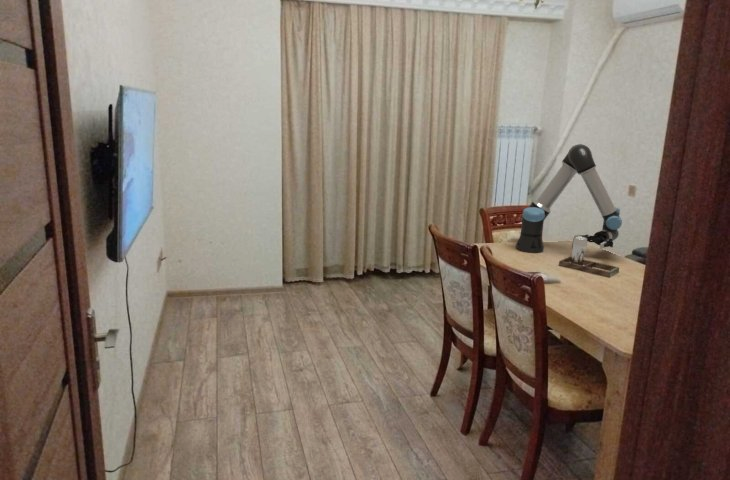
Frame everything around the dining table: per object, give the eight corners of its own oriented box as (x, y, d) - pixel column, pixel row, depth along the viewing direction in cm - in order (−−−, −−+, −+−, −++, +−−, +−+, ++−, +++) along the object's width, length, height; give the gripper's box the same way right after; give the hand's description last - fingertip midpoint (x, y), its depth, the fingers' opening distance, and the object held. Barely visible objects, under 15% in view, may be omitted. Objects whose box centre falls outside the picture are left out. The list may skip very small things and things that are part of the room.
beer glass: (568, 266, 261) (572, 238, 257) (570, 263, 267) (573, 235, 263) (583, 269, 258) (587, 240, 254) (584, 265, 264) (588, 237, 260)
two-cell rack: (558, 265, 262) (559, 260, 262) (569, 261, 271) (569, 256, 271) (609, 277, 245) (609, 272, 245) (618, 272, 254) (619, 267, 254)
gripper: (625, 248, 274) (611, 255, 259) (579, 240, 291) (563, 246, 276) (627, 234, 272) (613, 241, 257) (580, 227, 289) (564, 232, 274)
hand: (587, 243), depth 267 cm, fingers open, 13 cm apart
